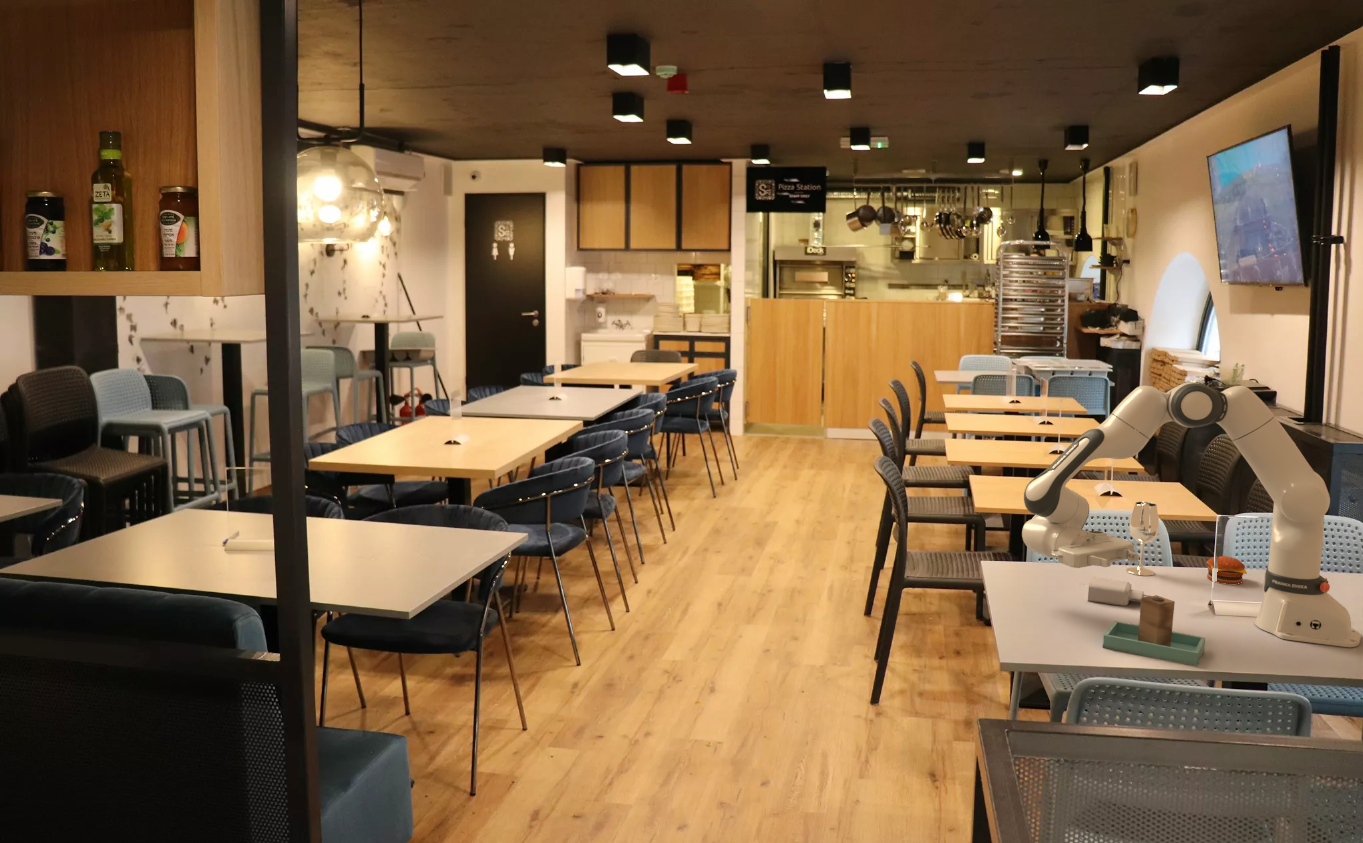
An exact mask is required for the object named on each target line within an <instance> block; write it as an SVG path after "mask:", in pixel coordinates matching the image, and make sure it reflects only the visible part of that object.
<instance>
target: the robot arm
mask: <svg viewBox="0 0 1363 843" xmlns="http://www.w3.org/2000/svg"><path fill="white" fill-rule="evenodd" d="M1169 422H1170V423H1171V422H1172V423H1174V424H1178V425H1179V426H1182V427H1184V428H1191V429H1192V428H1200V427H1205V426H1209V425H1213V424H1217V425H1219V426H1220V427H1221V428H1222V429H1223V431H1225V433H1226V434H1227V436H1228V437H1229V438H1230V440H1231V441H1232V443H1233V444H1234V446H1235V448H1237V450H1238V451H1239V452H1240V454H1241V456H1242V457H1243V458H1244V459H1245V461H1246V462H1247V463H1248V465H1249V466H1250V468H1251V469H1252V471H1253V472H1254V474H1255V475H1256V477H1257V478H1258V480H1259V482H1260V484H1261V485H1262V486H1263V489H1265V491H1266V493H1267V494H1268V495H1269V496H1270V498H1271V499H1272V501H1273V510H1272V511H1273V512H1272V522H1271V534H1270V535H1271V537H1270V547H1269V556H1268V566H1267V568H1266V570H1265V573H1264V579H1263V591H1264V593H1263V598H1262V600H1261V605H1260V608H1259V611H1258V614H1257V617H1256V619H1255V620H1254V624H1255V625H1256V627H1257V628H1259V629H1260V630H1262V631H1265V632H1267V633H1270V634H1273V635H1274V636H1276V637H1278V638H1279V639H1283V640H1288V641H1297V642H1305V643H1312V644H1320V645H1325V646H1326V645H1327V646H1336V647H1343V648H1355V647H1357V646H1358V645H1360V644H1359V643H1361V641H1362V639H1361V637H1362V636H1361V634H1360V632H1359V631H1358V630H1357V629H1355V628H1353V627H1352V621H1351V615H1350V613H1349V611H1348V609H1347V608H1346V607H1345V606H1343V605H1342V604H1341V603H1340V602H1339V601H1338V600H1336V599H1335V598H1334V597H1333V596H1332V595H1331V594H1329V593H1328V592H1330V588H1331V586H1330V585H1331V584H1329V581H1328V579H1327V577H1323V576H1322V575H1320V572H1321V564H1322V558H1323V557H1322V556H1323V555H1322V554H1323V546H1324V529H1325V528H1324V527H1325V526H1324V525H1325V515H1326V513H1327V512H1328V510H1329V507H1330V504H1331V498H1330V493H1329V491H1328V488H1327V485H1326V483H1325V481H1324V478H1322V477H1321V476H1320V474H1319V473H1317V472H1316V471H1314V469H1313V468H1312V466H1311V465H1310V463H1308V461H1307V459H1306V458H1305V456H1304V455H1303V454H1302V452H1301V451H1300V449H1299V448H1298V446H1297V445H1296V443H1295V442H1294V440H1293V439H1292V437H1291V436H1290V435H1289V434H1288V432H1287V431H1286V429H1285V428H1284V427H1283V426H1282V424H1281V423H1280V421H1279V420H1278V419H1277V417H1276V416H1275V415H1274V413H1273V412H1272V411H1271V409H1270V408H1269V407H1268V406H1267V405H1266V404H1265V402H1264V401H1263V400H1262V399H1261V398H1260V397H1259V396H1258V395H1257V394H1256V393H1255V392H1254V391H1253V390H1251V389H1250V388H1249V387H1247V386H1244V385H1234V386H1231V387H1228V388H1226V389H1224V390H1223V391H1219V390H1217V389H1214V388H1213V387H1210V386H1208V385H1206V384H1204V383H1203V384H1202V383H1199V382H1190V381H1188V382H1185V383H1181V384H1179V385H1176V386H1174V387H1171V388H1170V389H1166V390H1165V391H1161V390H1160V389H1159V388H1156V387H1154V386H1150V385H1140V386H1137V387H1136V388H1135V389H1133V390H1132V391H1131V392H1129V394H1127V396H1125V397H1124V398H1123V399H1122V400H1121V402H1120V403H1118V405H1117V406H1116V407H1115V408H1114V409H1113V411H1112V412H1111V413H1110V414H1109V416H1108V417H1107V418H1106V419H1105V420H1104V421H1103V422H1101V423H1100V424H1099V425H1098V426H1096V427H1094V428H1090V429H1087V430H1086V431H1084V432H1083V433H1082V434H1081V435H1079V436H1078V437H1077V438H1076V439H1075V440H1074V441H1073V442H1072V443H1071V444H1070V445H1069V446H1068V447H1067V448H1066V449H1065V450H1064V451H1063V452H1062V453H1061V454H1060V455H1059V456H1058V457H1057V458H1056V459H1055V460H1054V461H1053V462H1052V463H1050V465H1049V466H1048V467H1047V468H1046V469H1045V470H1043V471H1042V472H1041V473H1040V474H1039V475H1037V476H1035V477H1034V478H1032V480H1030V481H1029V482H1028V484H1027V485H1026V487H1025V489H1024V493H1023V501H1024V502H1023V503H1024V506H1025V508H1026V510H1027V511H1028V512H1029V513H1031V514H1032V515H1036V516H1035V517H1034V518H1032V519H1028V521H1026V522H1025V523H1024V525H1023V527H1022V531H1021V537H1022V541H1023V543H1024V544H1025V546H1026V547H1027V548H1028V549H1029V550H1031V551H1033V552H1034V553H1037V554H1040V555H1041V556H1044V557H1047V558H1051V559H1052V558H1053V559H1057V561H1058V562H1059V563H1061V564H1064V565H1065V566H1068V567H1070V568H1074V569H1080V568H1087V567H1091V566H1093V567H1094V566H1096V567H1103V568H1108V567H1110V566H1111V563H1113V562H1117V561H1124V560H1127V561H1129V562H1131V563H1135V562H1138V561H1139V558H1140V555H1139V554H1138V553H1136V552H1135V546H1134V545H1135V544H1133V542H1131V541H1129V540H1126V539H1123V538H1120V537H1117V536H1113V535H1107V534H1108V533H1107V532H1106V531H1101V530H1100V531H1099V530H1085V529H1084V527H1085V525H1086V522H1087V521H1088V518H1089V515H1090V506H1089V505H1090V504H1089V501H1088V500H1087V499H1086V498H1085V497H1084V496H1082V495H1081V494H1079V493H1078V492H1076V491H1074V490H1073V489H1070V488H1068V487H1067V486H1066V485H1067V484H1068V482H1069V481H1071V480H1072V479H1073V478H1074V476H1076V475H1077V473H1078V472H1080V471H1081V470H1082V469H1083V468H1084V467H1085V466H1086V465H1087V464H1088V463H1090V462H1091V461H1093V460H1098V459H1113V460H1126V459H1130V458H1134V456H1135V455H1138V453H1140V452H1141V451H1142V450H1143V449H1144V448H1145V446H1146V445H1147V443H1148V442H1149V441H1150V439H1151V438H1152V437H1153V436H1154V435H1155V433H1156V432H1157V431H1158V430H1159V429H1160V428H1161V427H1162V426H1163V425H1165V424H1167V423H1169Z"/></svg>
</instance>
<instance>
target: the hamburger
mask: <svg viewBox="0 0 1363 843" xmlns="http://www.w3.org/2000/svg"><path fill="white" fill-rule="evenodd" d="M1205 563H1206V564H1207V565H1208V566H1207V571H1208V572H1207V574H1206V577H1207V579H1208V580H1209V581H1211V582H1213V581H1212V569H1213V568H1214V557H1213V558H1212V557H1211V558H1210V559H1207V561H1206V562H1205ZM1245 568H1246V566H1245V564H1244V563H1243V562H1242V561H1240V560H1239V559H1237V558H1235V557H1232V556H1227V555H1226V556H1225V555H1222V556H1220V555H1219V558H1218V572H1217V582H1219V583H1218V584H1221V583H1226V584H1225V585H1228V584H1237V585H1239V584H1238V583H1241V582H1242V583H1243V580H1244V579H1243V576H1244V574H1245V575H1246V574H1247V570H1246V569H1245ZM1242 583H1241V584H1242Z"/></svg>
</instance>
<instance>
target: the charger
mask: <svg viewBox="0 0 1363 843" xmlns="http://www.w3.org/2000/svg"><path fill="white" fill-rule="evenodd" d="M1087 594H1088V595H1087V601H1088V602H1092V603H1093V602H1094V603H1100V604H1106V605H1107V604H1109V605H1114V606H1121V607H1124V606H1128V604H1129V602H1130V601H1133V602H1139V603H1141V598H1144V597H1150V596H1151V595H1150V594H1149V595H1148V594H1144V591H1143V590H1137V589H1132V584H1131V583H1130V582H1129V581H1125V580H1124V581H1123V580H1116V579H1112V578H1111V579H1110V578H1104V577H1103V578H1102V577H1096V576H1092V577H1091V580H1090V581H1089V585H1088V593H1087Z"/></svg>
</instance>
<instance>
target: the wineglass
mask: <svg viewBox="0 0 1363 843" xmlns="http://www.w3.org/2000/svg"><path fill="white" fill-rule="evenodd" d="M1159 523H1160V520H1159V513H1158V507H1157V504H1156V503H1153V502H1149V501H1136V502H1135V503H1134V506H1133V509H1132V513H1131V516H1130V520H1129V525H1128V531H1129V534H1130V536H1131V537H1132V538H1133V540H1135V541H1136V542H1137V543H1139V545H1140V555H1139V564H1138V566H1137V567H1136V566H1135V567H1134V566H1133V567H1127V568H1126V569H1125V570H1126V572H1127V573H1128V574H1132V575H1136V576H1143V577H1146V576H1148V577H1149V576H1153V575H1155V571H1153V570H1152V569H1149V568H1145V567H1144V565H1143V559H1144V548H1145V545H1146V544H1149V543H1150V542H1153V541H1155V539H1156V538H1157V536H1158V535H1159V530H1160V524H1159Z"/></svg>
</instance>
